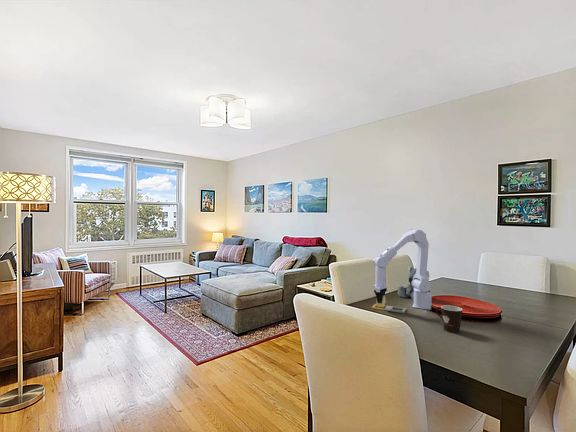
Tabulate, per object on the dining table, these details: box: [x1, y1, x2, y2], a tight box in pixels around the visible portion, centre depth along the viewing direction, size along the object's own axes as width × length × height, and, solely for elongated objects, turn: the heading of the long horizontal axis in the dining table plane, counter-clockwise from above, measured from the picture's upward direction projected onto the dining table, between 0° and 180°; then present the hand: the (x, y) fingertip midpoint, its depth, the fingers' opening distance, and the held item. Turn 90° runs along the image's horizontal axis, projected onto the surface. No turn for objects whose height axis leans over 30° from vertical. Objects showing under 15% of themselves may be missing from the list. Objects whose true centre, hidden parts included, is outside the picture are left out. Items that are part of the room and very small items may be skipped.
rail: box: [371, 303, 407, 314], centre depth 169 cm, size 17×6×1 cm, turn 61°
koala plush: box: [397, 265, 431, 302], centre depth 192 cm, size 17×18×20 cm
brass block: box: [375, 294, 386, 308], centre depth 171 cm, size 4×4×7 cm
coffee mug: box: [435, 304, 463, 334], centre depth 140 cm, size 12×9×10 cm
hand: (380, 302), depth 171 cm, fingers closed on brass block, 4 cm apart
